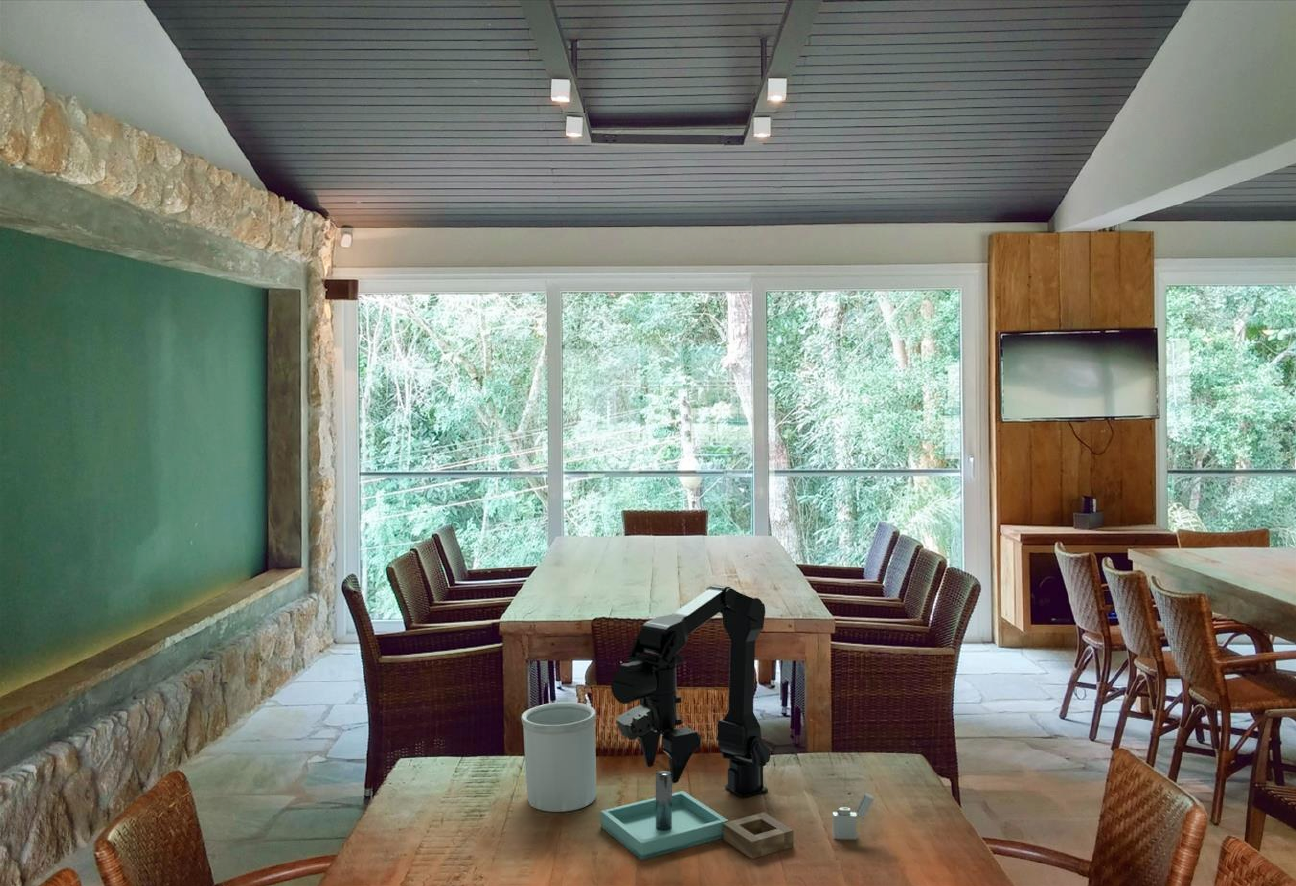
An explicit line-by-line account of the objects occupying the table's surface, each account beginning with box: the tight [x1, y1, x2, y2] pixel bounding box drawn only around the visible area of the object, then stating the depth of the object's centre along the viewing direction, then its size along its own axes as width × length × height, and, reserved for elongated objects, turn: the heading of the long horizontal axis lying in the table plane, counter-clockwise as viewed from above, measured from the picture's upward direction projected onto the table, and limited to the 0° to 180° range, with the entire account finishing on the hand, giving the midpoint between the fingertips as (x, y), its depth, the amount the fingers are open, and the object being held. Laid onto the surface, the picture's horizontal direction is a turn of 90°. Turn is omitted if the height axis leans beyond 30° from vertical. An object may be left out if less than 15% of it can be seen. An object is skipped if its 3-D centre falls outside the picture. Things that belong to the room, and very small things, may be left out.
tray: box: [600, 790, 729, 861], centre depth 188 cm, size 18×16×3 cm
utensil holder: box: [521, 701, 597, 813], centre depth 204 cm, size 15×15×18 cm
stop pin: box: [655, 770, 673, 831], centre depth 188 cm, size 3×3×10 cm
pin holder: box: [722, 812, 795, 860], centre depth 183 cm, size 9×9×3 cm
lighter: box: [832, 792, 874, 840], centre depth 184 cm, size 7×2×8 cm, turn 85°
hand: (662, 774), depth 188 cm, fingers open, 9 cm apart
